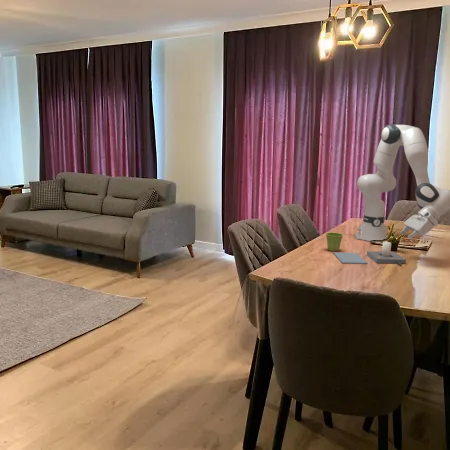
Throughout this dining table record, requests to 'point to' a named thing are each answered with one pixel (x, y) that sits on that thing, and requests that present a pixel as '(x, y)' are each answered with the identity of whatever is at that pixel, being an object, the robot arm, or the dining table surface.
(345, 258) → the rubber mat
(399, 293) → the dining table surface
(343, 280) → the dining table surface
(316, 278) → the dining table surface
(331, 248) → the plant pot
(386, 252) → the white rounded cylinder
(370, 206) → the robot arm
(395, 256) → the grey square frame
